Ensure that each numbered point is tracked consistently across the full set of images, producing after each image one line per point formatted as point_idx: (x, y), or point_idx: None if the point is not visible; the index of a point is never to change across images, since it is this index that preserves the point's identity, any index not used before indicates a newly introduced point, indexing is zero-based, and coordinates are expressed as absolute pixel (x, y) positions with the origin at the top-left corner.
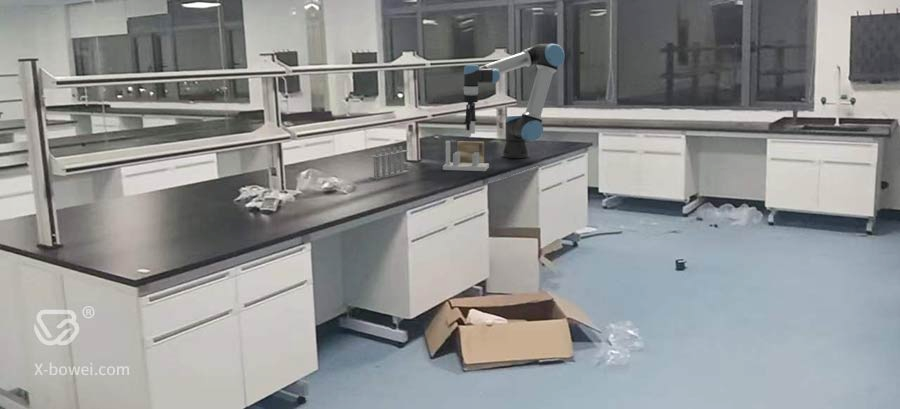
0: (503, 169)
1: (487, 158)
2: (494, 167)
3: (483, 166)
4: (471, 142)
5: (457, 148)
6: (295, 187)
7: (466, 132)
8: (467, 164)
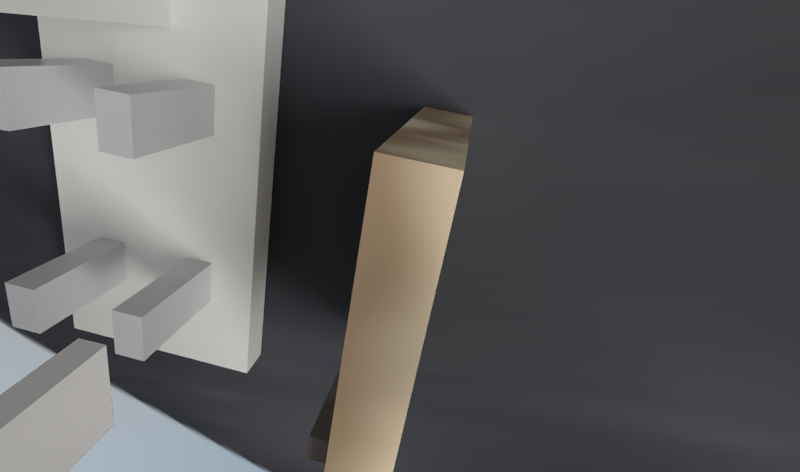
0: (189, 425)
1: (752, 413)
2: (261, 388)
3: (101, 317)
4: (340, 369)
5: (396, 134)
6: None
7: (4, 410)
8: (169, 202)
